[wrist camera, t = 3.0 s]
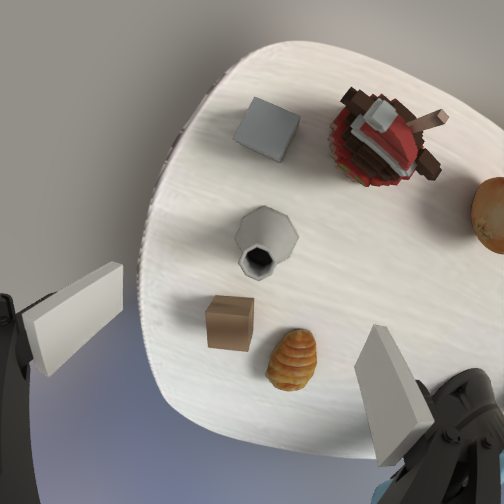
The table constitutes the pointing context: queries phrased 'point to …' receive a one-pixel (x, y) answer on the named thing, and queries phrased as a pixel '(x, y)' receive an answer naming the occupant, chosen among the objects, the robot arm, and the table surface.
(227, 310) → the walnut block
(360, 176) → the cake
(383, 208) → the table surface
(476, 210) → the onion
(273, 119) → the slate-grey block
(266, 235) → the flask
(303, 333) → the pastry
